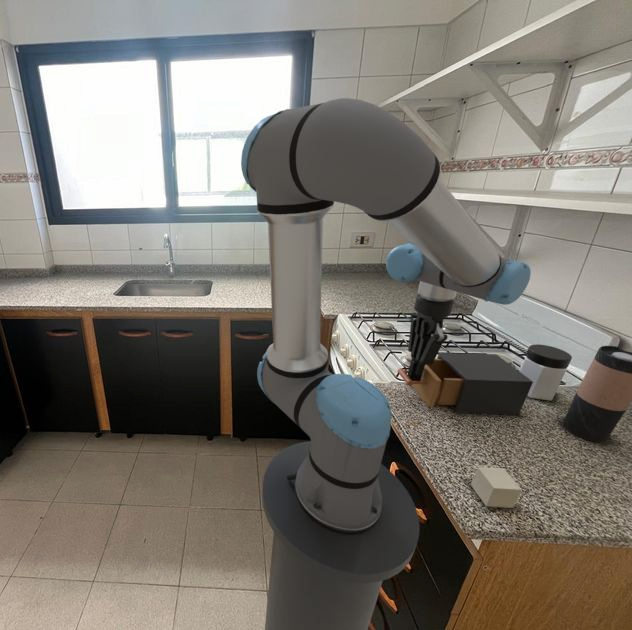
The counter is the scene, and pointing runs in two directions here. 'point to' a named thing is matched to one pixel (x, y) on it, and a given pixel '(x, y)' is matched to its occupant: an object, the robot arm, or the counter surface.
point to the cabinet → (488, 384)
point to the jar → (544, 370)
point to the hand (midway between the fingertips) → (412, 381)
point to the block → (495, 487)
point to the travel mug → (601, 395)
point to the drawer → (436, 383)
